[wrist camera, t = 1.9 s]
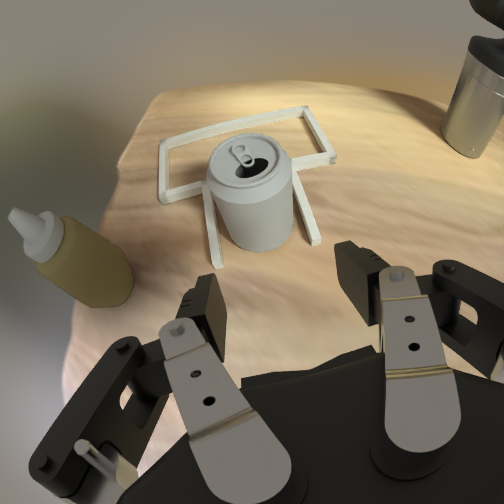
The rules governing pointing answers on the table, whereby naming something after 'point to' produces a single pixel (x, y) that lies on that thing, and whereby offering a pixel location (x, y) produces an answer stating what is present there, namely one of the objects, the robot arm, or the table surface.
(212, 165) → the can
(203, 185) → the t outline
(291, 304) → the table surface
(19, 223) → the squeeze bottle
